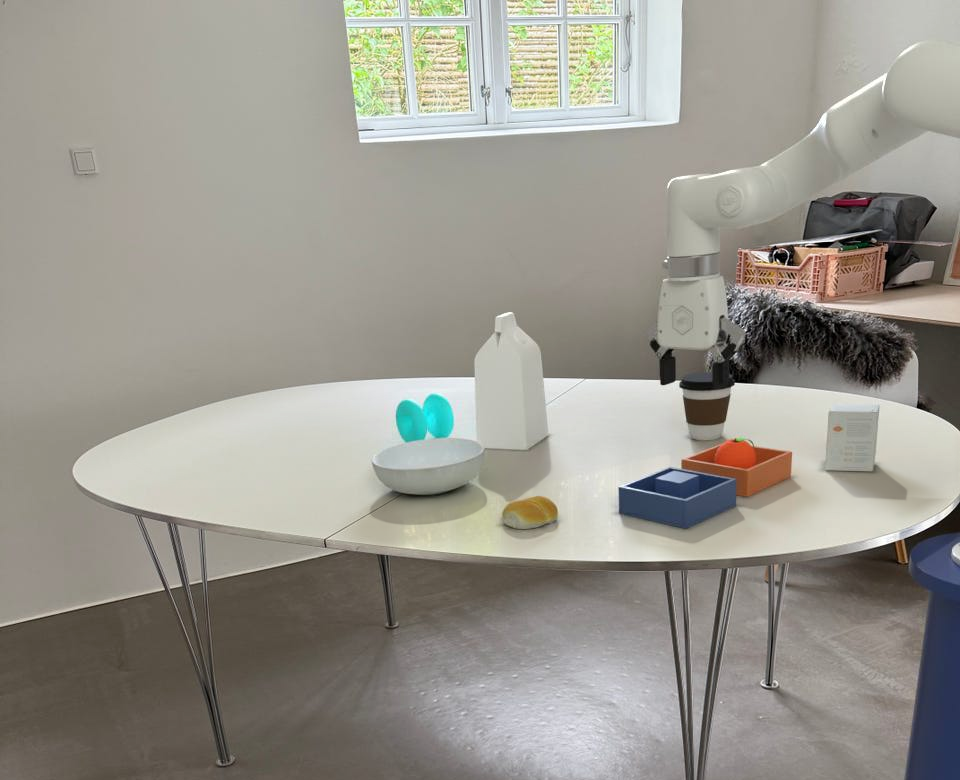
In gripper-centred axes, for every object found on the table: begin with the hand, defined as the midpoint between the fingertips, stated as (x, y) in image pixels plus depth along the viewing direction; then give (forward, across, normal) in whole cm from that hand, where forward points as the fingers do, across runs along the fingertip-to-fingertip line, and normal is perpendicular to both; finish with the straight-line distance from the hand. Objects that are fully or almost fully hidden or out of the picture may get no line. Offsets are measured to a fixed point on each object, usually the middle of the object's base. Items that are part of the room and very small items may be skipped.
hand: (693, 385), depth 147 cm
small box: (+20, +10, +33) cm, 40 cm away
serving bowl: (+19, -47, -17) cm, 53 cm away
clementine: (+19, -2, +16) cm, 25 cm away
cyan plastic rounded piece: (+19, -74, +6) cm, 77 cm away
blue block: (+19, -2, -2) cm, 19 cm away
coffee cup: (+20, -24, +38) cm, 49 cm away
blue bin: (+20, -2, -2) cm, 20 cm away
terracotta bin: (+20, -2, +16) cm, 25 cm away
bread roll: (+20, -18, -20) cm, 33 cm away
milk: (+19, -57, +15) cm, 62 cm away
